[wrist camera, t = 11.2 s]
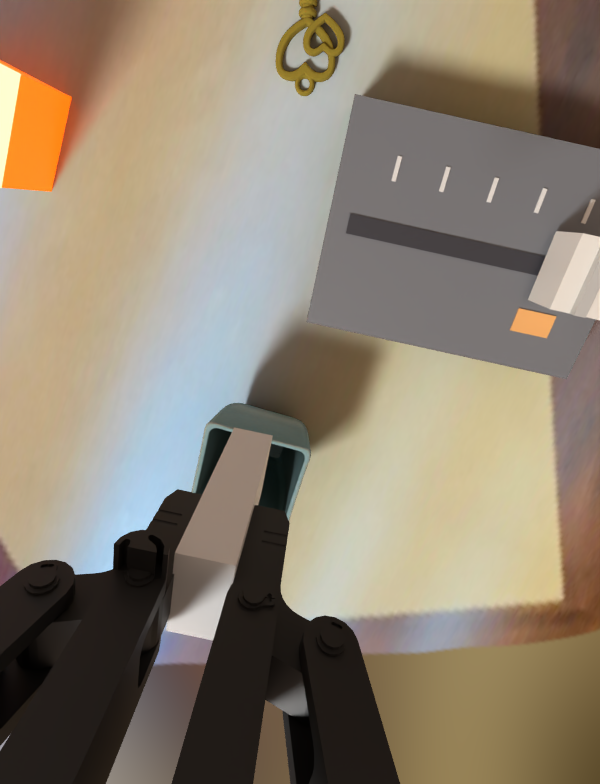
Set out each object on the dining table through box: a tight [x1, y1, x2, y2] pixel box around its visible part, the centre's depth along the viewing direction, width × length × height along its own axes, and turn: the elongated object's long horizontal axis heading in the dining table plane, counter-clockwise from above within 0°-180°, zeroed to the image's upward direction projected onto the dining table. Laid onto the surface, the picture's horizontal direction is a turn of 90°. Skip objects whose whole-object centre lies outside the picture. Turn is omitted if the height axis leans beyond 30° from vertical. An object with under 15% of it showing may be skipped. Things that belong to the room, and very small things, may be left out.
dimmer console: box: [307, 94, 600, 379], centre depth 34 cm, size 16×22×4 cm
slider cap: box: [528, 231, 600, 320], centre depth 30 cm, size 5×4×4 cm
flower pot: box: [192, 403, 311, 520], centre depth 40 cm, size 9×9×9 cm
